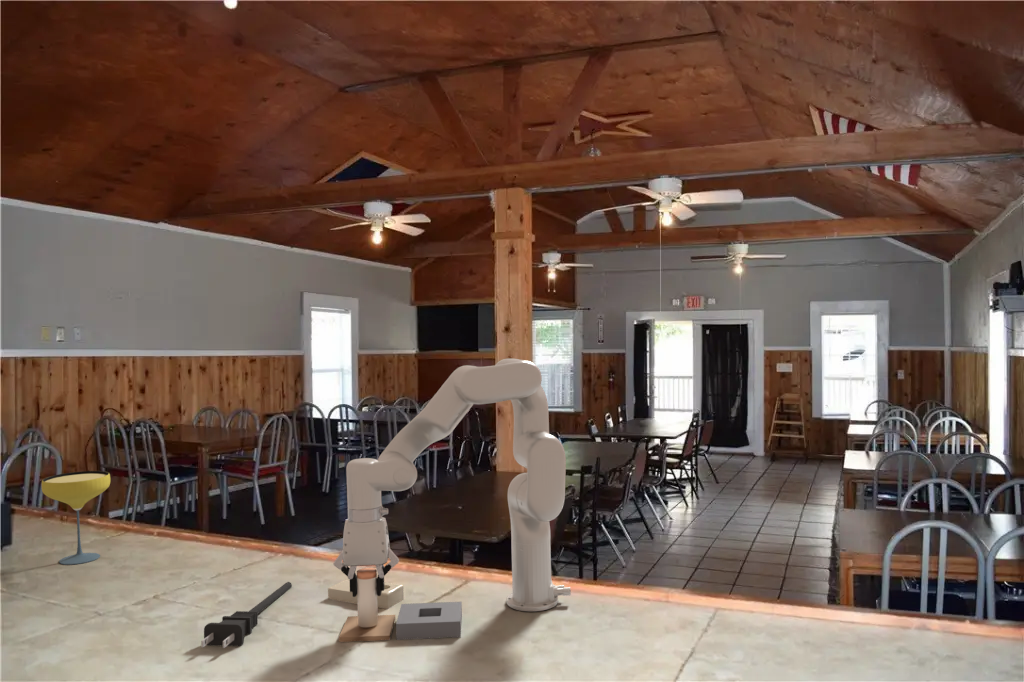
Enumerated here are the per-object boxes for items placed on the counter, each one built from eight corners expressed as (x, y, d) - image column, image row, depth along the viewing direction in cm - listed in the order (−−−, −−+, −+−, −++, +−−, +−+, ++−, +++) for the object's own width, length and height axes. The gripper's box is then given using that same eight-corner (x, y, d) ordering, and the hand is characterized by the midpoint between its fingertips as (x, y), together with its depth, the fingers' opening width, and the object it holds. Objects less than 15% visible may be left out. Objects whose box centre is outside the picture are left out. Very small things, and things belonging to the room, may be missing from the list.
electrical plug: (193, 655, 167) (192, 631, 167) (272, 594, 208) (272, 575, 208) (232, 656, 166) (231, 632, 166) (304, 594, 207) (304, 575, 207)
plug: (379, 619, 180) (377, 567, 180) (376, 627, 176) (375, 573, 175) (359, 620, 180) (358, 568, 179) (356, 627, 176) (355, 574, 175)
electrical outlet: (345, 575, 205) (403, 584, 197) (346, 591, 205) (404, 600, 197) (327, 584, 198) (387, 593, 190) (328, 600, 198) (387, 610, 191)
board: (395, 618, 184) (395, 614, 184) (389, 640, 172) (389, 635, 172) (348, 620, 184) (347, 616, 184) (338, 642, 172) (338, 637, 172)
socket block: (461, 616, 185) (461, 601, 185) (460, 637, 173) (460, 621, 173) (401, 618, 184) (401, 603, 184) (396, 639, 172) (396, 623, 172)
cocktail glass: (73, 549, 247) (69, 470, 246) (126, 550, 245) (123, 470, 244) (30, 568, 229) (26, 482, 228) (87, 569, 227) (83, 483, 226)
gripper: (404, 508, 181) (406, 587, 182) (329, 511, 180) (332, 590, 181) (401, 517, 174) (403, 598, 174) (323, 519, 173) (326, 601, 174)
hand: (367, 593), depth 178 cm, fingers open, 4 cm apart
